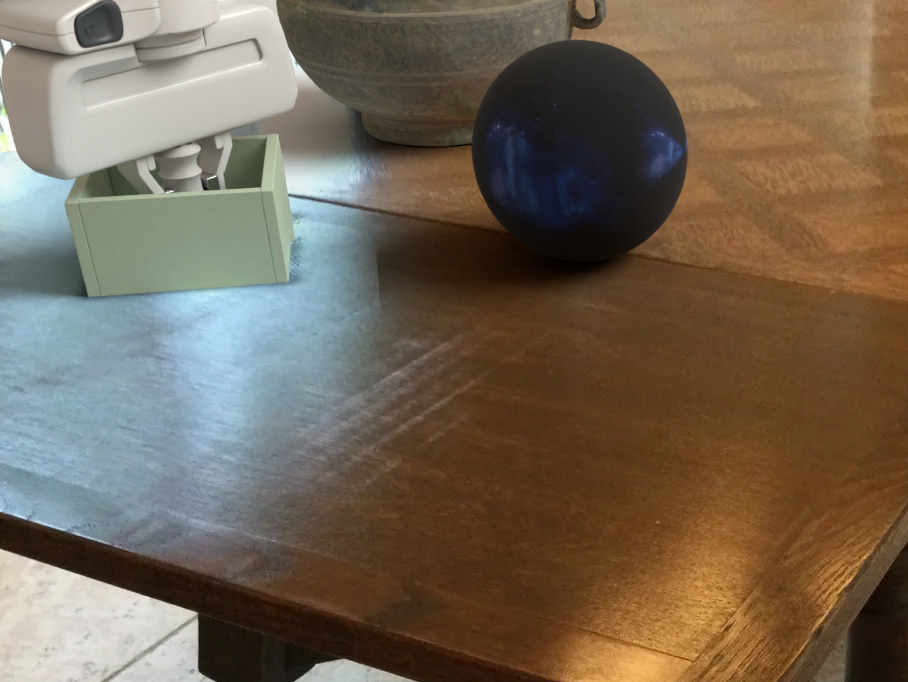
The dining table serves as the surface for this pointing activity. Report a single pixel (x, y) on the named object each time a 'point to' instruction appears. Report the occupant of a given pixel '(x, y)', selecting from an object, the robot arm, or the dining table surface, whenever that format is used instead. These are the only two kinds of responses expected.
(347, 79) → the bowl
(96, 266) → the green open box
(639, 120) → the decorative sphere
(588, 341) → the dining table surface
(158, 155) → the rook chess piece
